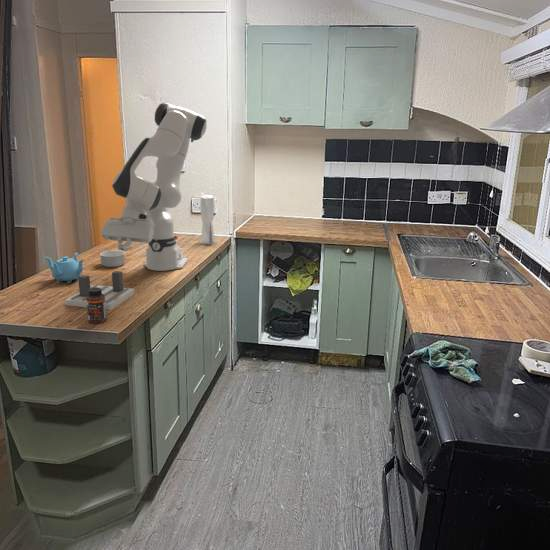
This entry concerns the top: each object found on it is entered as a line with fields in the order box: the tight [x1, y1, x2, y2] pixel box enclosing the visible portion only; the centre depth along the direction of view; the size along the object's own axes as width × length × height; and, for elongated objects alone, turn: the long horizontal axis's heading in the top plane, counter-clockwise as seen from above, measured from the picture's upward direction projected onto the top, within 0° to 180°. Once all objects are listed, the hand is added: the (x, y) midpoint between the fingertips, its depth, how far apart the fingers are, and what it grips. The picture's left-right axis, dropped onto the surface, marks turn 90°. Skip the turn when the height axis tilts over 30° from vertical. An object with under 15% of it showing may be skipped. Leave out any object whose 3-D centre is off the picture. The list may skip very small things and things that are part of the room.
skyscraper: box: [199, 192, 218, 246], centre depth 273 cm, size 8×8×28 cm
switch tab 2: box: [111, 270, 125, 292], centre depth 191 cm, size 2×3×8 cm
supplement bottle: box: [86, 287, 107, 324], centre depth 168 cm, size 6×6×11 cm
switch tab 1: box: [77, 274, 91, 297], centre depth 186 cm, size 2×3×8 cm
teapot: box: [44, 252, 85, 284], centre depth 209 cm, size 13×13×10 cm
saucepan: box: [98, 245, 133, 268], centre depth 237 cm, size 12×20×6 cm, turn 159°
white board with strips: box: [64, 284, 136, 311], centre depth 189 cm, size 18×18×3 cm
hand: (121, 249), depth 192 cm, fingers closed
